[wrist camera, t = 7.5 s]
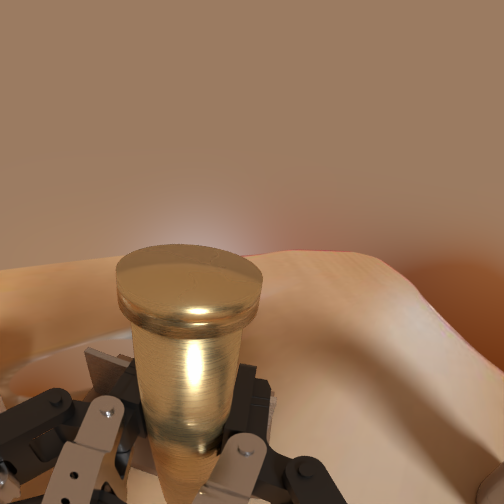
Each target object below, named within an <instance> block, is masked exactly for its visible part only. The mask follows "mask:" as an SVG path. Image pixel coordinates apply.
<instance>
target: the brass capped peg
mask: <svg viewBox="0 0 504 504" xmlns="http://www.w3.org/2000/svg"><path fill="white" fill-rule="evenodd" d="M116 282H117V297H118V305H119V308H120V310H121V311H122V313H123V314H124V316H125V317H126V318H127V319H128V320H130V321H131V328H132V339H133V348H134V357H135V364H136V372H137V379H138V385H139V392H140V398H141V403H142V409H143V414H144V419H145V424H146V429H147V434H148V438H149V443H150V447H151V451H152V455H153V459H154V463H155V467H156V471H157V474H158V478H159V481H160V485H161V488H162V492H163V495H164V498H165V501H166V502H167V504H192V502H193V500H194V498H195V497H196V495H197V493H198V491H199V490H200V488H201V487H202V485H203V484H205V483H206V482H207V480H208V479H209V477H210V475H211V473H212V471H213V469H214V467H215V465H216V463H217V461H218V459H219V457H220V455H221V447H222V440H223V432H224V426H225V422H226V420H227V419H228V417H229V414H230V410H231V404H232V397H233V390H234V384H235V377H236V370H237V364H238V357H239V350H240V344H241V337H242V330H243V328H244V327H245V326H247V325H248V324H249V323H250V322H251V321H252V320H253V319H254V318H255V316H256V314H257V311H258V306H259V300H260V294H261V288H262V282H263V276H262V273H261V271H260V270H259V269H258V267H257V266H256V265H254V264H253V263H252V262H250V261H249V260H247V259H245V258H243V257H241V256H239V255H237V254H233V253H231V252H228V251H224V250H221V249H216V248H212V247H206V246H199V245H185V244H170V245H158V246H151V247H146V248H143V249H139V250H136V251H134V252H131V253H129V254H128V255H126V256H124V257H123V258H122V259H121V260H120V261H119V262H118V264H117V267H116Z"/></svg>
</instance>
